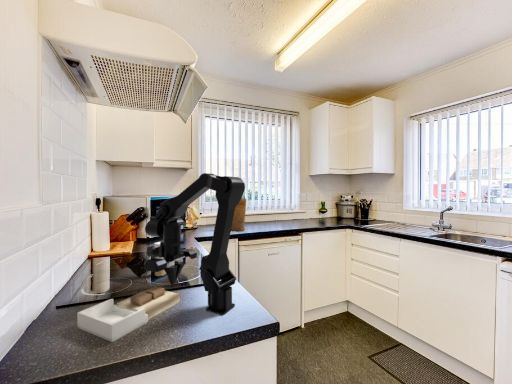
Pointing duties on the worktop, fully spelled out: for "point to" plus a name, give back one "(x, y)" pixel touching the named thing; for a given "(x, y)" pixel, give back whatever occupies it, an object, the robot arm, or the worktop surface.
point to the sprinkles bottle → (159, 258)
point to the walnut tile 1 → (140, 299)
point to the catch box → (110, 320)
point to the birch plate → (154, 304)
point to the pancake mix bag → (239, 216)
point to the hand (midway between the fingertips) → (172, 284)
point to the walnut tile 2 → (156, 292)
